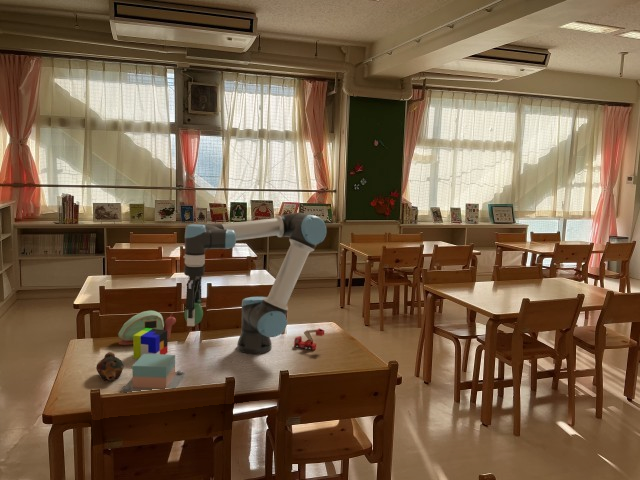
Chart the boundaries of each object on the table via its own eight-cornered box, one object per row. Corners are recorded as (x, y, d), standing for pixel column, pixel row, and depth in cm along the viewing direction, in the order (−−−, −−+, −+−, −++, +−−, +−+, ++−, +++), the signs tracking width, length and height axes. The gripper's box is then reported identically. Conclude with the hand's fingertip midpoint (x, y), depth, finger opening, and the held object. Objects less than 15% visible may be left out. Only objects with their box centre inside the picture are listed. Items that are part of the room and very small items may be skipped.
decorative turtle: (120, 367, 209) (121, 348, 207) (126, 385, 196) (127, 364, 194) (93, 370, 204) (94, 350, 203) (98, 388, 191) (98, 367, 190)
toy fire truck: (296, 344, 242) (296, 324, 240) (324, 349, 237) (324, 329, 235) (293, 347, 239) (293, 326, 237) (321, 352, 234) (321, 331, 232)
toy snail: (119, 347, 231) (118, 316, 229) (117, 341, 238) (117, 311, 236) (177, 340, 242) (177, 311, 240) (174, 335, 249) (174, 306, 247)
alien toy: (202, 321, 210) (202, 296, 209) (203, 327, 203) (203, 301, 202) (184, 321, 208) (184, 296, 207) (184, 327, 201) (184, 302, 200)
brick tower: (185, 374, 205) (185, 352, 204) (172, 394, 187) (172, 370, 186) (138, 372, 205) (138, 350, 204) (121, 392, 187) (120, 368, 186)
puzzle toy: (155, 361, 217) (155, 337, 215) (133, 358, 219) (133, 335, 217) (167, 352, 227) (167, 330, 225) (146, 350, 229) (145, 328, 227)
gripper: (191, 259, 213) (190, 314, 216) (177, 269, 192) (176, 330, 195) (210, 260, 213) (208, 315, 216) (197, 270, 192) (196, 331, 195)
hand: (193, 322), depth 206 cm, fingers closed on alien toy, 8 cm apart
